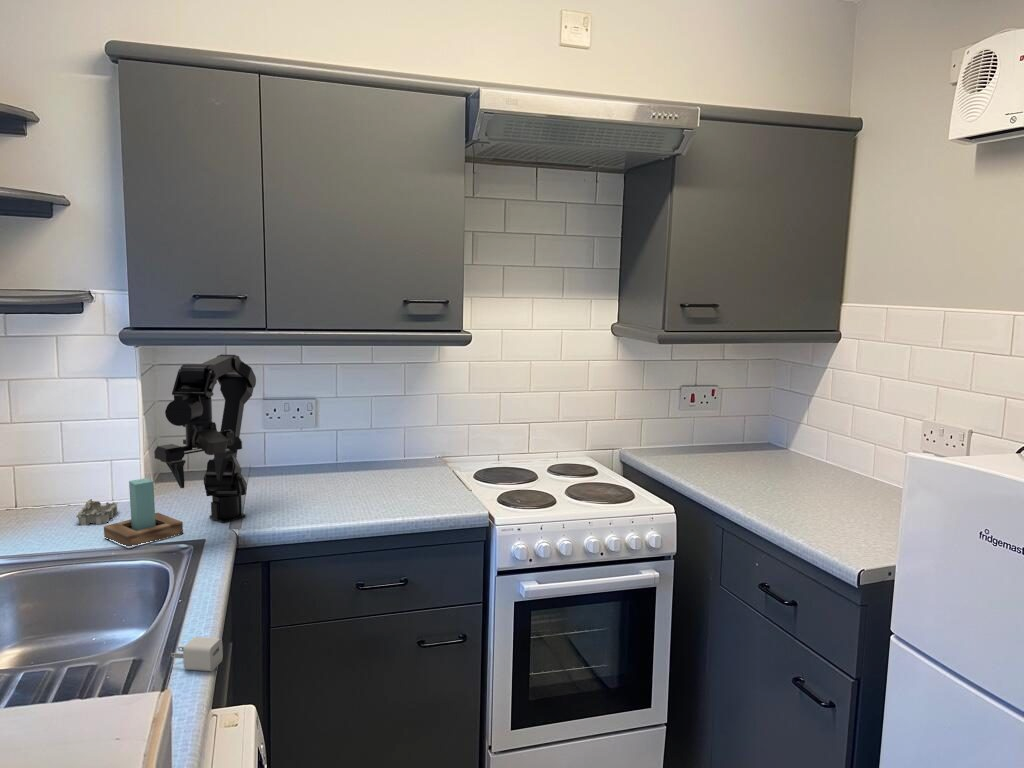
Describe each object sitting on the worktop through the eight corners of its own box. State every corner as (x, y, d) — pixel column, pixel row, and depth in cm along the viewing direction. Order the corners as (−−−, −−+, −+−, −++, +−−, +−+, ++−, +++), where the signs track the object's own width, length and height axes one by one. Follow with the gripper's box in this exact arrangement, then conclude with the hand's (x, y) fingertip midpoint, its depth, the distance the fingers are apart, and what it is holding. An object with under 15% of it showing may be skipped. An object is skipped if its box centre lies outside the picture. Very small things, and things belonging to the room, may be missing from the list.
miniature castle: (91, 513, 189) (90, 498, 189) (122, 512, 191) (121, 497, 190) (73, 526, 179) (72, 510, 178) (106, 525, 180) (105, 509, 180)
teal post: (149, 530, 176) (147, 477, 174) (156, 534, 173) (153, 481, 171) (132, 534, 173) (128, 481, 171) (138, 538, 170) (135, 484, 168)
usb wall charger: (210, 673, 115) (209, 649, 114) (168, 670, 115) (167, 646, 115) (222, 660, 119) (221, 636, 118) (182, 657, 119) (180, 634, 119)
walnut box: (158, 524, 181) (158, 512, 181) (183, 533, 175) (182, 521, 175) (104, 538, 171) (103, 526, 170) (128, 549, 165) (127, 536, 164)
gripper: (178, 428, 156) (181, 499, 158) (255, 417, 171) (256, 482, 173) (151, 421, 163) (154, 489, 165) (227, 411, 178) (229, 474, 180)
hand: (201, 484), depth 171 cm, fingers open, 9 cm apart
